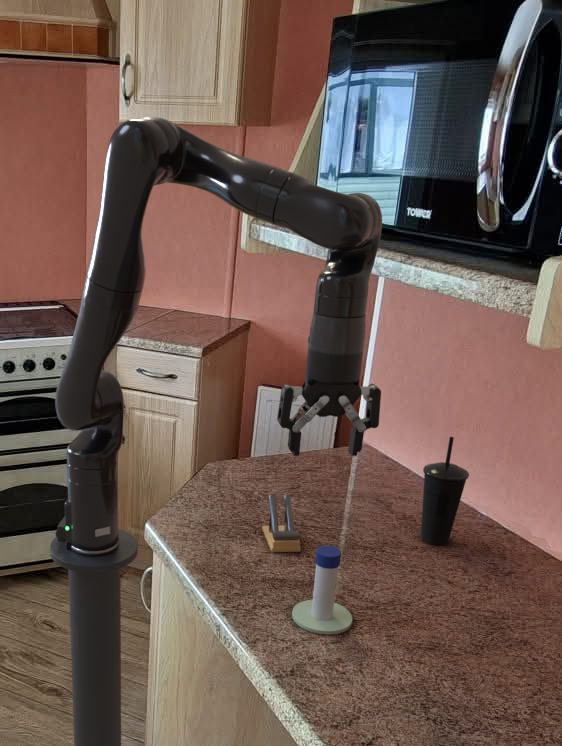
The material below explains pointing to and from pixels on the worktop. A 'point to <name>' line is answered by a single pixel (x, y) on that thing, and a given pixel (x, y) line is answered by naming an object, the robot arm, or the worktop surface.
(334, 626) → the mat
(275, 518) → the rack
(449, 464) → the drinking cup
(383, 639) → the worktop surface
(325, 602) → the vial
